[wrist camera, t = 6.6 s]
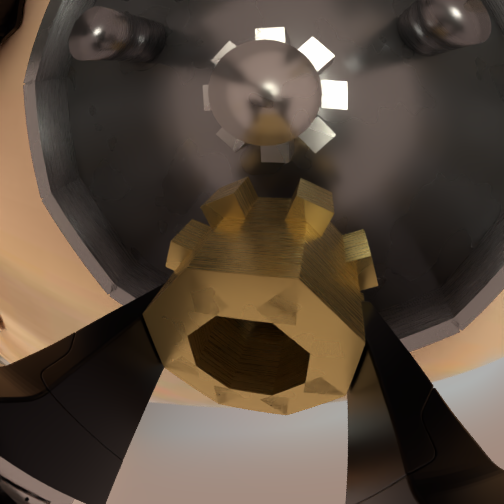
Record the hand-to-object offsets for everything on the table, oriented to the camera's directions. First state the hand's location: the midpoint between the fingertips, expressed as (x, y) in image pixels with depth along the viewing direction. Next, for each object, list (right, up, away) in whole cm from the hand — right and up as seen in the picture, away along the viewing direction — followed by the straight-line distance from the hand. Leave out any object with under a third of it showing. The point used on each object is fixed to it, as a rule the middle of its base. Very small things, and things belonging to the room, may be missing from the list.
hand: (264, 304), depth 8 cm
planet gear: (0, +1, +2) cm, 2 cm away
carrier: (+1, +7, +1) cm, 7 cm away
